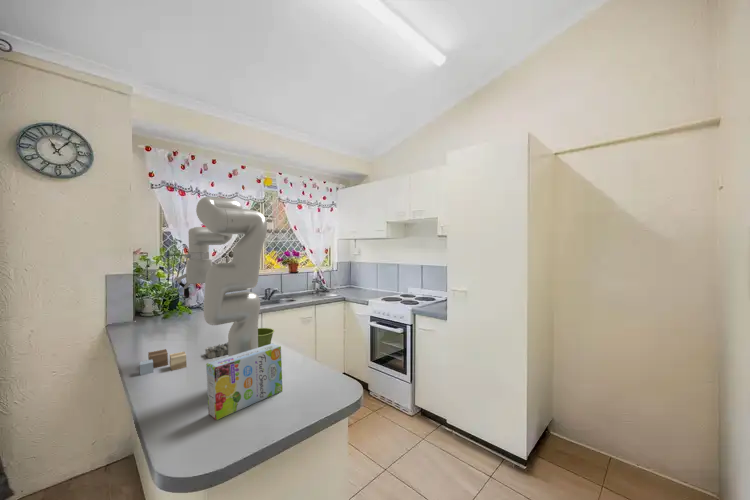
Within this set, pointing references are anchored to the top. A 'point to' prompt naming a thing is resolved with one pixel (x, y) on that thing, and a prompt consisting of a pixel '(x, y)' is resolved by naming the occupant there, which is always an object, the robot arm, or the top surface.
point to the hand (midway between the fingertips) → (200, 296)
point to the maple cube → (178, 361)
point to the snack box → (243, 379)
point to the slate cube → (146, 367)
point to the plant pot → (264, 336)
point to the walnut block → (158, 358)
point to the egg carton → (217, 350)
